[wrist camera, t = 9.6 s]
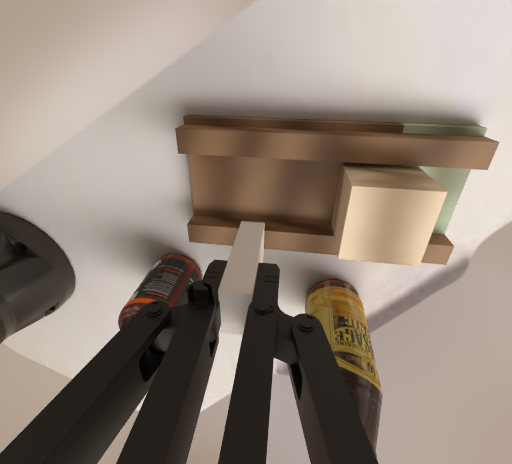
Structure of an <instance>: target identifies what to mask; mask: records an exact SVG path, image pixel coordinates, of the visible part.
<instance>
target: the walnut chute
mask: <svg viewBox="0 0 512 464" xmlns="http://www.w3.org/2000/svg"><path fill="white" fill-rule="evenodd" d="M183 118H184V125H182V126H180V127H178V128H176V129H175V130H176V138H177V146H178V153H179V154H187V155H188V164H189V173H190V182H191V191H192V201H193V210H194V216H193V217H192V218H191V220H190V221H189V223H188V224H187V226H188V234H189V242H197V243H208V244H219V245H231V246H233V245H234V242H235V239H236V236H237V233H238V230H239V227H240V224H241V221H246V222H261V223H265V226H264V249H276V250H287V251H298V252H309V253H320V254H332V255H337V251H336V245H335V240H334V234H333V229H332V223H331V221H332V215H333V209H334V203H335V197H336V191H337V186H338V180H339V174H340V168H341V162H349V163H367V164H386V165H405V166H419V167H420V168H421V169H422V170H423V171H424V172H425V173H427V174H428V175H429V176H430V177H431V178H432V179H433V180H434V181H436V182H437V183H438V184H439V185H440V186H441V187H442V188H444V189H445V190H446V191H447V195H446V197H445V200H444V203H443V205H442V208H441V211H440V213H439V216H438V218H437V221H436V224H435V226H434V229H433V232H432V234H431V237H430V240H429V242H428V245H427V247H426V250H425V253H424V255H423V258H422V261H421V263H432V264H444V265H446V263H447V261H448V259H449V257H450V254H451V252H452V250H453V247H454V245H453V244H452V243H451V242H450V241H449V239H448V238H447V237H446V236H445V235H444V234H445V231H446V229H447V226H448V224H449V222H450V219H451V217H452V214H453V212H454V209H455V207H456V204H457V202H458V199H459V197H460V194H461V192H462V190H463V187H464V185H465V182H466V180H467V177H468V175H469V172H470V170H471V169H481V170H488V167H489V165H490V163H491V160H492V158H493V156H494V154H495V151H496V149H497V147H498V144H499V142H497V141H494V140H492V139H489V138H487V137H484V135H485V133H486V130H487V128H485V127H482V126H472V125H445V124H417V123H390V122H363V121H336V120H309V119H282V118H255V117H227V116H200V115H186V116H184V117H183Z"/></svg>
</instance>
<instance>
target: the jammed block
mask: <svg viewBox="0 0 512 464" xmlns="http://www.w3.org/2000/svg"><path fill="white" fill-rule="evenodd" d="M446 195H447V191H446V190H445V189H444V188H442V187H441V186H440V185H439V184H438V183H437V182H436V181H434V180H433V179H432V178H431V177H430V176H429V175H428V174H427V173H425V172H424V171H423V170H422V169H421V168H420V167H419V166H405V165H386V164H367V163H349V162H341V168H340V174H339V180H338V186H337V191H336V197H335V203H334V209H333V215H332V221H331V223H332V229H333V234H334V240H335V245H336V251H337V256H338V259H345V260H356V261H367V262H378V263H389V264H400V265H411V266H420V263H421V261H422V258H423V255H424V253H425V250H426V247H427V245H428V242H429V240H430V237H431V234H432V232H433V229H434V226H435V224H436V221H437V218H438V216H439V213H440V211H441V208H442V205H443V203H444V200H445V197H446Z"/></svg>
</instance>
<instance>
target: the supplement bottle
mask: <svg viewBox="0 0 512 464" xmlns="http://www.w3.org/2000/svg"><path fill="white" fill-rule="evenodd" d="M199 280H202V275H201V271H200V269H199V268H198V266H197V265H196V264H195V263H194V262H193V261H191V260H190V259H188V258H186V257H184V256H180V255H175V254H173V255H166V256H164V257H162V258H160V259H159V260H158V261H157V262H156V264H155V265H154V266H153V268H152V269H151V270H150V272H149V273H148V274H147V276H146V277H145V279H144V280H143V281H142V283H141V284H140V286H139V287H138V288H137V290H136V291H135V292H134V294H133V295H132V297H131V298H130V299H129V301H128V302H127V304H126V305H125V306H124V308H123V309H122V311H121V313H120V315H119V320H118V324H119V328H120V330H121V329H122V328H123V327H124V326H125V325H126V324H127V323H128V322H129V321H130V320H131V319H132V317H133V316H134V315H135V314H136V313H137V312H138V311H139V310H140V309H141V308H142V307H143V306H145V305H146V304H147V303H150V302H152V301H157V300H160V301H165V302H166V303H168V305H169V306H170V307H174V306H180V305H184V304H186V303H188V299H187V292H186V288H187V287H188V285H189V284H191V283H193V282H195V281H199Z"/></svg>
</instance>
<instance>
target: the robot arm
mask: <svg viewBox="0 0 512 464" xmlns="http://www.w3.org/2000/svg"><path fill="white" fill-rule="evenodd" d="M264 226H265V223H261V222H246V221H241V224H240V227H239V230H238V233H237V236H236V239H235V242H234V245H233V248H232V251H231V253H230V256H229V259H228V261H224V260H214V261H213V262H211V263H210V264H209V265H208V268H207V270H206V272H205V275H204V277H203V279H202V280H199V281H195V282H193V283H191V284H189V285H188V287H187V288H186V292H187V299H188V303H186V304H184V305H180V306H174V307H170V306H169V305H168V303H166V302H165V301H160V300H157V301H152V302H150V303H147V304H146V305H145V306H143V307H142V308H141V309H140V310H139V311H138V312H137V313H136V314H135V315H134V316H133V317H132V319H131V320H130V321H129V322H128V323H127V324H126V325H125V326H124V327H123V328H122V329H121V330H120V331H119V332H118V333H117V334H116V335H115V336H114V337H113V338H112V339H111V340H110V341H109V342H108V343H107V344H106V345H105V346H104V347H103V348H102V349H101V350H100V351H99V352H98V354H97V355H96V356H95V357H94V358H93V359H92V360H91V361H90V362H89V363H88V364H87V365H86V366H85V367H84V368H83V369H82V370H81V371H80V372H79V373H78V374H77V375H76V376H75V377H74V378H73V379H72V380H71V382H69V383H68V384H67V386H66V387H64V388H63V390H62V391H61V392H60V393H59V394H58V395H57V396H56V397H55V398H54V399H53V400H52V401H51V402H50V403H49V404H48V405H47V406H46V407H45V408H44V409H43V410H42V411H41V412H40V413H39V414H38V415H37V416H36V417H35V418H34V419H33V421H32V422H30V424H29V425H28V426H27V427H26V428H25V429H24V430H23V431H22V432H21V433H20V434H19V435H18V436H17V437H16V438H15V439H14V440H13V441H12V442H11V443H10V444H9V445H8V446H7V447H6V448H5V449H4V450H3V451H2V452H1V453H0V464H97V463H98V461H99V460H100V459H101V457H102V456H103V454H104V453H105V452H106V450H107V449H108V447H109V446H110V444H111V443H112V442H113V440H114V439H115V437H116V436H117V435H118V433H119V432H120V430H121V429H122V427H123V426H124V425H125V423H126V422H127V420H128V419H129V418H130V416H131V415H132V413H133V412H134V410H135V409H136V408H137V406H138V405H139V403H140V402H141V400H142V399H143V398H144V396H145V395H146V393H147V392H148V393H147V395H146V398H145V400H144V402H143V404H142V407H141V409H140V411H139V413H138V416H137V418H136V420H135V422H134V425H133V427H132V429H131V431H130V434H129V436H128V438H127V441H126V443H125V445H124V447H123V449H122V452H121V454H120V456H119V458H118V461H117V463H116V464H186V462H187V458H188V454H189V450H190V447H191V443H192V439H193V435H194V431H195V428H196V424H197V421H198V417H199V413H200V409H201V406H202V402H203V398H204V395H205V391H206V387H207V383H208V380H209V376H210V372H211V368H212V365H213V361H214V357H215V354H216V350H217V346H218V342H219V336H218V333H219V330H220V326H221V333H229V334H239V335H243V337H242V342H241V348H240V353H239V358H238V363H237V368H236V373H235V379H234V384H233V389H232V394H231V399H230V405H229V410H228V416H227V420H226V425H225V431H224V436H223V441H222V446H221V451H220V457H219V462H218V464H266V455H267V441H268V427H269V414H270V400H271V386H272V373H273V359H274V358H276V359H278V360H281V361H283V362H285V363H287V366H288V370H289V374H290V378H291V383H292V387H293V391H294V395H295V399H296V403H297V408H298V411H299V416H300V420H301V424H302V429H303V433H304V437H305V441H306V445H307V450H308V454H309V458H310V462H311V464H378V461H377V459H376V456H375V454H374V451H373V449H372V446H371V444H370V442H369V439H368V437H367V434H366V432H365V429H364V427H363V424H362V422H361V419H360V417H359V415H358V412H357V410H356V407H355V405H354V402H353V400H352V397H351V395H350V392H349V390H348V388H347V385H346V383H345V380H344V378H343V375H342V373H341V370H340V368H339V365H338V363H337V361H336V358H335V356H334V353H333V351H332V348H331V346H330V343H329V341H328V338H327V336H326V334H325V331H324V329H323V326H322V324H321V322H320V321H319V319H317V318H316V317H315V316H313V315H310V314H299V315H296V316H295V317H292V316H289V315H287V314H285V313H284V312H282V311H281V310H280V308H279V306H278V288H279V274H280V270H279V268H278V266H277V264H269V263H263V257H264ZM74 289H75V276H74V272H73V269H72V267H71V264H70V263H69V261H68V259H67V257H66V256H65V254H64V253H63V252H62V250H61V249H60V248H59V247H58V246H57V245H56V244H55V243H54V242H53V241H52V240H51V239H50V238H49V237H48V236H47V235H46V234H44V233H43V232H42V231H40V230H39V229H38V228H36V227H35V226H33V225H31V224H30V223H28V222H26V221H24V220H22V219H20V218H17V217H15V216H12V215H9V214H5V213H1V212H0V344H1V343H2V342H3V341H4V340H5V339H6V338H7V337H9V336H10V335H12V334H14V333H16V332H18V331H19V330H21V329H23V328H25V327H27V326H29V325H31V324H33V323H34V322H36V321H38V320H40V319H42V318H43V317H45V316H47V315H49V314H51V313H53V312H55V311H56V310H57V309H59V308H60V307H61V306H62V305H63V304H64V303H65V302H66V301H67V300H68V299H69V298H70V297H71V295H72V294H73V292H74Z"/></svg>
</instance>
